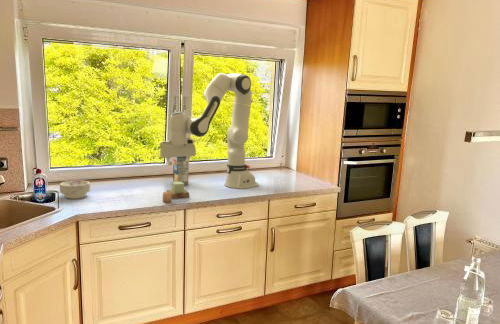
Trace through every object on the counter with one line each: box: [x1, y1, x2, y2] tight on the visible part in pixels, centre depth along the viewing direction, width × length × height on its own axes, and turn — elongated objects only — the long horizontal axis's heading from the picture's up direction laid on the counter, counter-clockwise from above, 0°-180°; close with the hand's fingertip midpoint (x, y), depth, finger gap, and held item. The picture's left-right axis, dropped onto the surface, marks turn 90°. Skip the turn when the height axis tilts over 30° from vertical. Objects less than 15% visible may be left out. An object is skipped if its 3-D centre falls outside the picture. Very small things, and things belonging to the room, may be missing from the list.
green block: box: [171, 182, 185, 193], centre depth 219 cm, size 6×6×5 cm
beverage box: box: [172, 157, 190, 187], centre depth 245 cm, size 7×11×22 cm, turn 27°
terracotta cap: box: [162, 191, 172, 204], centre depth 207 cm, size 4×4×5 cm
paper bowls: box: [59, 179, 91, 200], centre depth 209 cm, size 15×15×8 cm
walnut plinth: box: [166, 188, 190, 200], centre depth 220 cm, size 10×10×2 cm
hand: (178, 164), depth 216 cm, fingers open, 8 cm apart
